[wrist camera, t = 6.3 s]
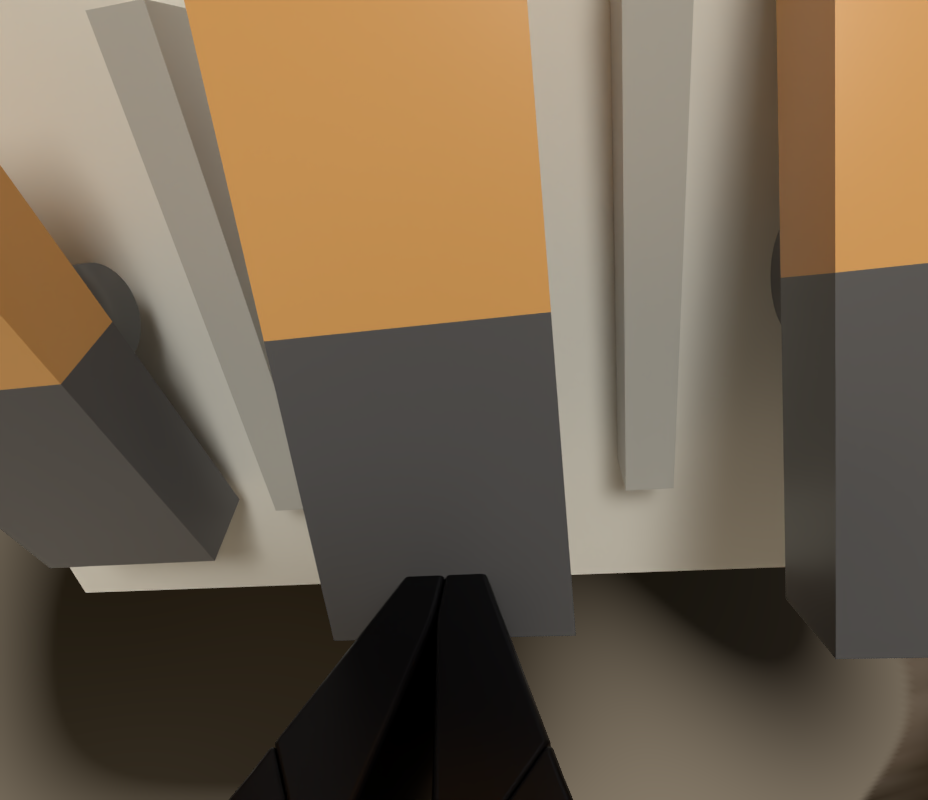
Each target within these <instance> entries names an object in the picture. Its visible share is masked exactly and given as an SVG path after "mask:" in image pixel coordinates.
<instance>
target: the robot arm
mask: <svg viewBox="0 0 928 800" xmlns="http://www.w3.org/2000/svg"><path fill="white" fill-rule="evenodd" d="M275 746H276V749H275V748H273V747H272V748H270V749H269V750H268V752H267V753H266V754H265V755H264V757H263V758H262V759H261V761H260V762H259V763H258V764H257V766H256V767H255V768H254V769H253V771H252V772H251V773H250V775H249V776H248V777H247V778H246V779H245V781H244V782H243V783H242V784H241V785H240V787H239V788H238V789H237V790H236V791H235V793H234V794H233V795H232V796H231V798H230V799H229V800H573V799H572V796H571V793H570V791H569V789H568V786H567V784H566V781H565V779H564V776H563V774H562V771H561V768H560V766H559V763H558V761H557V758H556V756H555V753H554V750H553V748H551V746H550V740H549V738H548V735H547V732H546V730H545V727H544V725H543V722H542V719H541V717H540V714H539V711H538V709H537V706H536V704H535V701H534V698H533V696H532V693H531V691H530V688H529V685H528V683H527V680H526V677H525V675H524V672H523V669H522V667H521V664H520V662H519V659H518V656H517V654H516V651H515V649H514V646H513V643H512V640H511V638H510V635H509V632H508V630H507V627H506V625H505V622H504V619H503V617H502V614H501V611H500V609H499V606H498V604H497V601H496V598H495V596H494V593H493V590H492V588H491V585H490V582H489V580H488V577H487V576H486V575H485V574H461V575H448V576H446V578H444V577H443V576H440V575H436V576H410V577H406V578H404V580H403V581H402V582H401V584H400V585H399V586H398V587H397V589H396V590H395V591H394V592H393V594H392V595H391V596H390V597H389V599H388V600H387V601H386V603H385V604H384V605H383V606H382V608H381V609H380V610H379V611H378V613H377V614H376V615H375V616H374V618H373V619H372V620H371V622H370V623H369V624H368V625H367V627H366V628H365V629H364V630H363V632H362V633H361V634H360V636H359V637H358V638H357V639H356V641H355V642H354V643H353V644H352V646H351V647H350V648H349V650H348V651H347V652H346V653H345V655H344V656H343V657H342V658H341V660H340V661H339V662H338V664H337V665H336V666H335V667H334V669H333V670H332V671H331V672H330V674H329V675H328V676H327V677H326V679H325V680H324V681H323V682H322V684H321V685H320V686H319V687H318V689H317V690H316V691H315V693H314V694H313V695H312V696H311V698H310V699H309V700H308V701H307V703H306V704H305V705H304V706H303V708H302V709H301V710H300V712H299V713H298V714H297V715H296V717H295V718H294V719H293V720H292V722H291V723H290V724H289V725H288V727H287V728H286V729H285V731H284V732H283V733H282V734H281V736H280V737H279V738H278V739H277V741H276V742H275Z"/></svg>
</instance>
